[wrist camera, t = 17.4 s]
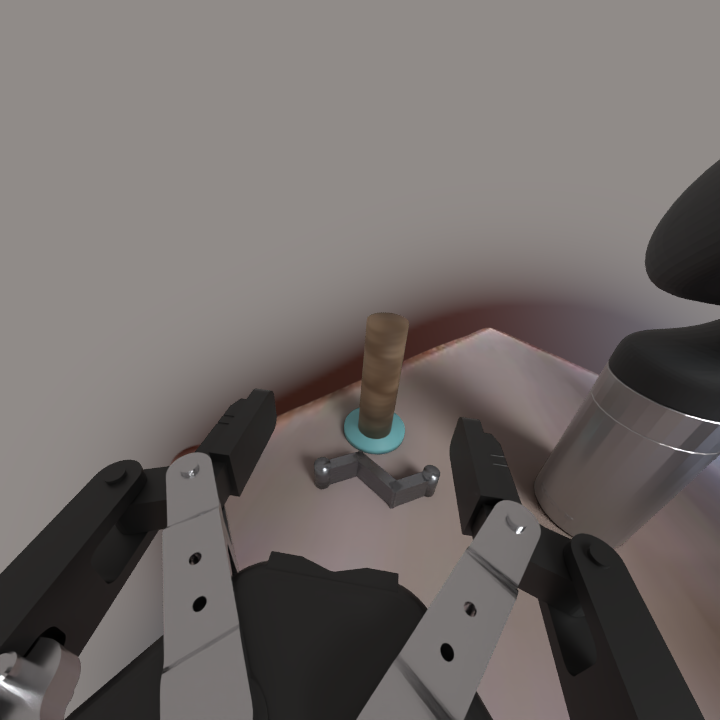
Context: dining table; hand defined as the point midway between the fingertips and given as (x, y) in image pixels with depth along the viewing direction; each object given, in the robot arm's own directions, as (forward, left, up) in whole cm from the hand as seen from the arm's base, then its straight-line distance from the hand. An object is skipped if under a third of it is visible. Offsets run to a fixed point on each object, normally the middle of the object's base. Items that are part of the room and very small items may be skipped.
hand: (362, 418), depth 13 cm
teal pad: (-8, -19, -21) cm, 29 cm away
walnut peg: (-8, -19, -21) cm, 29 cm away
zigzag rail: (-5, -10, -21) cm, 24 cm away
